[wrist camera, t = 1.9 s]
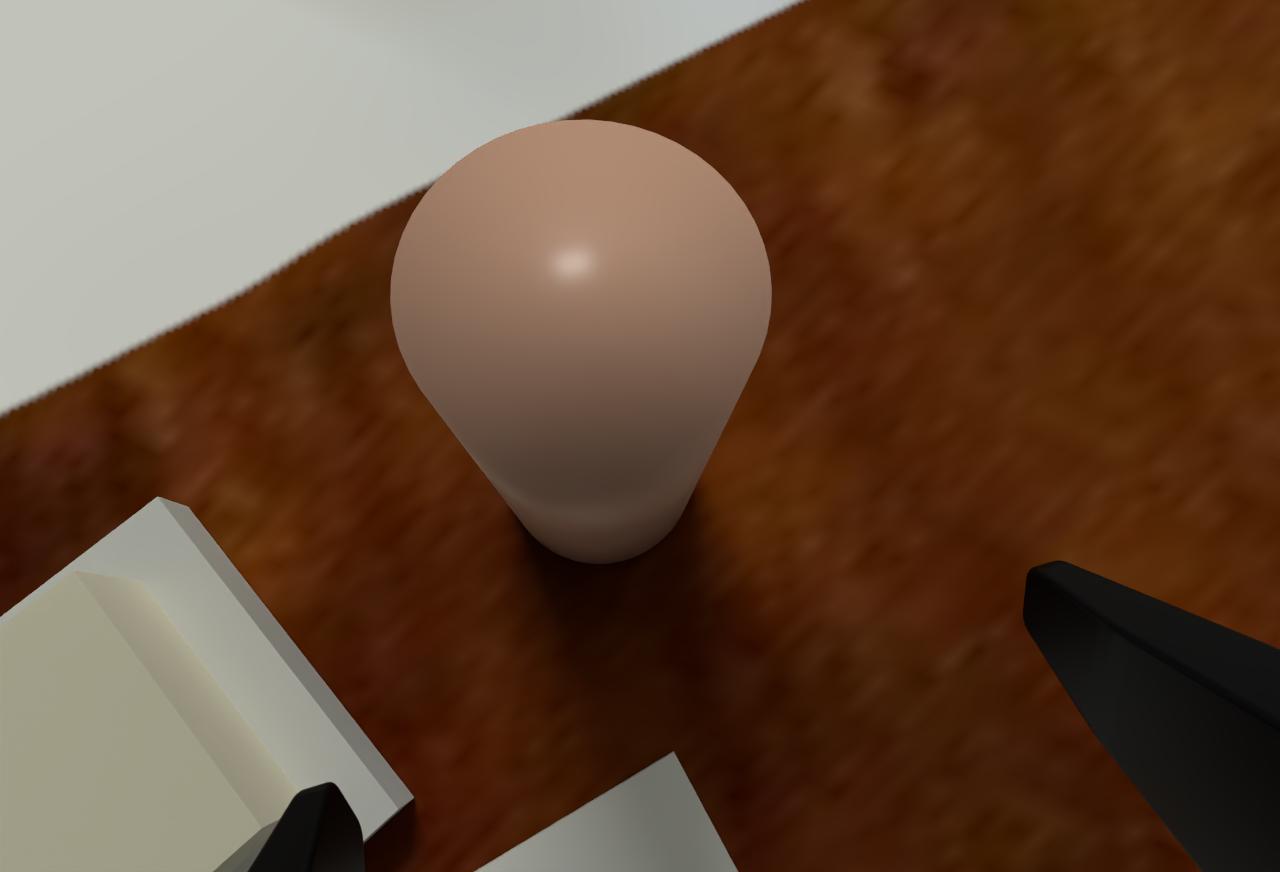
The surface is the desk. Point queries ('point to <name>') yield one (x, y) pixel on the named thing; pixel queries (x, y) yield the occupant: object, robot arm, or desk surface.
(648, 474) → the column
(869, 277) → the desk surface
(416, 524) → the desk surface
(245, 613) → the tower base
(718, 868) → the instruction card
